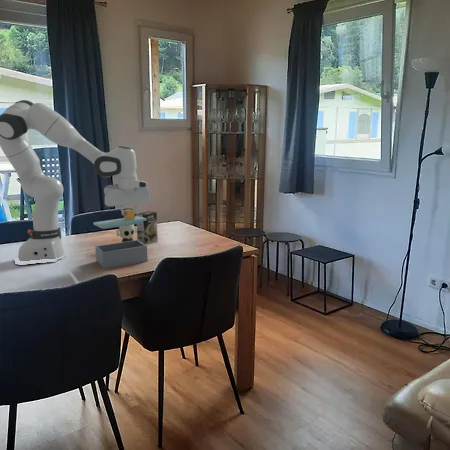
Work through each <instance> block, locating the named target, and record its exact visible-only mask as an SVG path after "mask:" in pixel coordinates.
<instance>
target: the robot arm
mask: <svg viewBox="0 0 450 450" xmlns="http://www.w3.org/2000/svg"><path fill="white" fill-rule="evenodd" d="M29 130H35V131H36V132H38V133H39V134H41V135H42V136H43V137H44V138H46V139H47V140H49V141H51V142H53V143H54V144H56V145H58V146H60V147H65V148H69V149H72V150H74V151H76V153H77V152H78V153H79V154H81V156H83V157H84V158H86V159H87V160H88V161H90V162H91V163H92V164H93V170H94V171H95V173H96V174H97V175H98V176H99V177H103V178H109V177H114V176H116V184H108V185H106V186H104V188H103V193H104V204H105V206H106V207H108V208H109V207H118V208H119V210H120V211H121V216H124V215H126V211H124V210H125V209H124V206H129V205H132V206H134V207H133V208H132V210H134V214H135V215H136V214H137V213H136V212H137V209H138V207H139V205H140V204H150V202H151V199H152V197H151V191H150V189H149V187H148V186H149V183H148V182H147V181H144V180H141V179H138V175H137V168H138V167H137V157H136V151H135V150H134V149H133V148H131V147H129V146H124V145H123V146H121V145H120V146H117V147H115V148H114V149H112V150H110V151H109V152H108V151H107V152H106V151H102V150H100V149H99V148H97V147H96V146H94V145H93V144H92V143H91V142H90V141H88V140H86V138H85V137H83V136H82V135H81V134H80V133H79V131H78V130H77V129H76V128H75V127H74V126H73V125H72V124H71V123H70V121H68V120H67V119H66V118H65V117H64V116H62V115H61V114H60V113H59V112H58V111H55V110H54V109H52V108H51V107H49V106H47V105H46V104H43V103H41V102H36V103H33V102H32V101H30V100H26V99H21V100H18V101H16V102H14V103H13V104H12V105H10V106H9V107H7V108H5V110H4V111H3V112H2V113H1V114H0V149H1V150H2V151H3V153H4V155H5V157H6V158H7V160H8V162H9V163H10V165H11V166H12V168H13V169H14V171H16V175H17V176H18V178H19V181H20V184H21V189H22V191H23V193H24V194H26V195H28V196H29V197H30V198H33V199H35V203H34V209H33V211H32V212H31V218H32V224H33V225H32V227H33V229H28V230H27V234H29V238H28V239H27V240H26V241H25V242H24V243H23V244H21V245H20V247H19V249H18V254H17V255H18V258H19V260H20V261H30V260H40V259H41V260H42V259H56V258H59V257H61V256H63V255H64V254H65V255H66V252H65V250H64V247H63V243H62V230H61V227H60V223H59V205H60V199H61V197H62V196H63V194H64V185H63V184H62V182H61V181H60V180H58V179H57V178H56V177H53V176H51V175H50V176H49V175H46V174H45V173H44V172H43V170H42V167H41V161H40V157H39V156H38V155H37V152H35V150H34V148H33V147H32V145H31V143H30V142H29V141H28V139H27V137H26V134H27V133H28V131H29Z"/></svg>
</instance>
